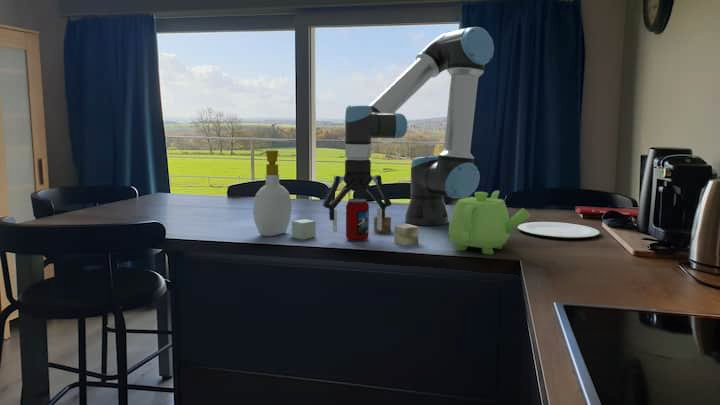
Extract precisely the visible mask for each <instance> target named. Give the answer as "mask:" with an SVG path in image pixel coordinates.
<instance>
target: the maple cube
mask: <svg viewBox="0 0 720 405" xmlns="http://www.w3.org/2000/svg"><path fill="white" fill-rule="evenodd" d="M419 231H420V230H419V226H418V225H415V224H410V223H406V224H405V223H404V224H396V225H394V236H393V237H394V239H393V240H394V241H393V242H394V243H397V244H399V245H402V246H408V245H409V246H410V245H418V244H419V233H420V232H419Z"/></svg>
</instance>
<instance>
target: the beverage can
mask: <svg viewBox="0 0 720 405" xmlns="http://www.w3.org/2000/svg"><path fill="white" fill-rule="evenodd" d="M369 211H370V205H369V203H368V201H367V199H365V198H349V199H348V201H347V203H346V204H345V238H346V239H348V240H349V241H352V242H364V241H366V240H367V239H368V238H369V231H370V230H369V228H370V227H369V226H370V225H369V223H370V212H369Z"/></svg>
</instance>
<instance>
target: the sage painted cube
mask: <svg viewBox="0 0 720 405" xmlns="http://www.w3.org/2000/svg"><path fill="white" fill-rule="evenodd" d="M291 237H292V238H295V239H299V240H307V239H306V238H308V239H313V238H316V221H315V220H311V219H306V218H304V219H297V220H292V221H291ZM312 237H313V238H312Z"/></svg>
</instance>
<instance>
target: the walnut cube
mask: <svg viewBox="0 0 720 405" xmlns="http://www.w3.org/2000/svg"><path fill="white" fill-rule="evenodd" d="M391 228H392V217H391V215H390V214H385V218H384V219H382V230H378V229H377V214H373V231H374V233H376V234H377V233H382V234H384V233H386V234H387V233H390V234H391V233H392V231H391V230H392V229H391Z"/></svg>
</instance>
